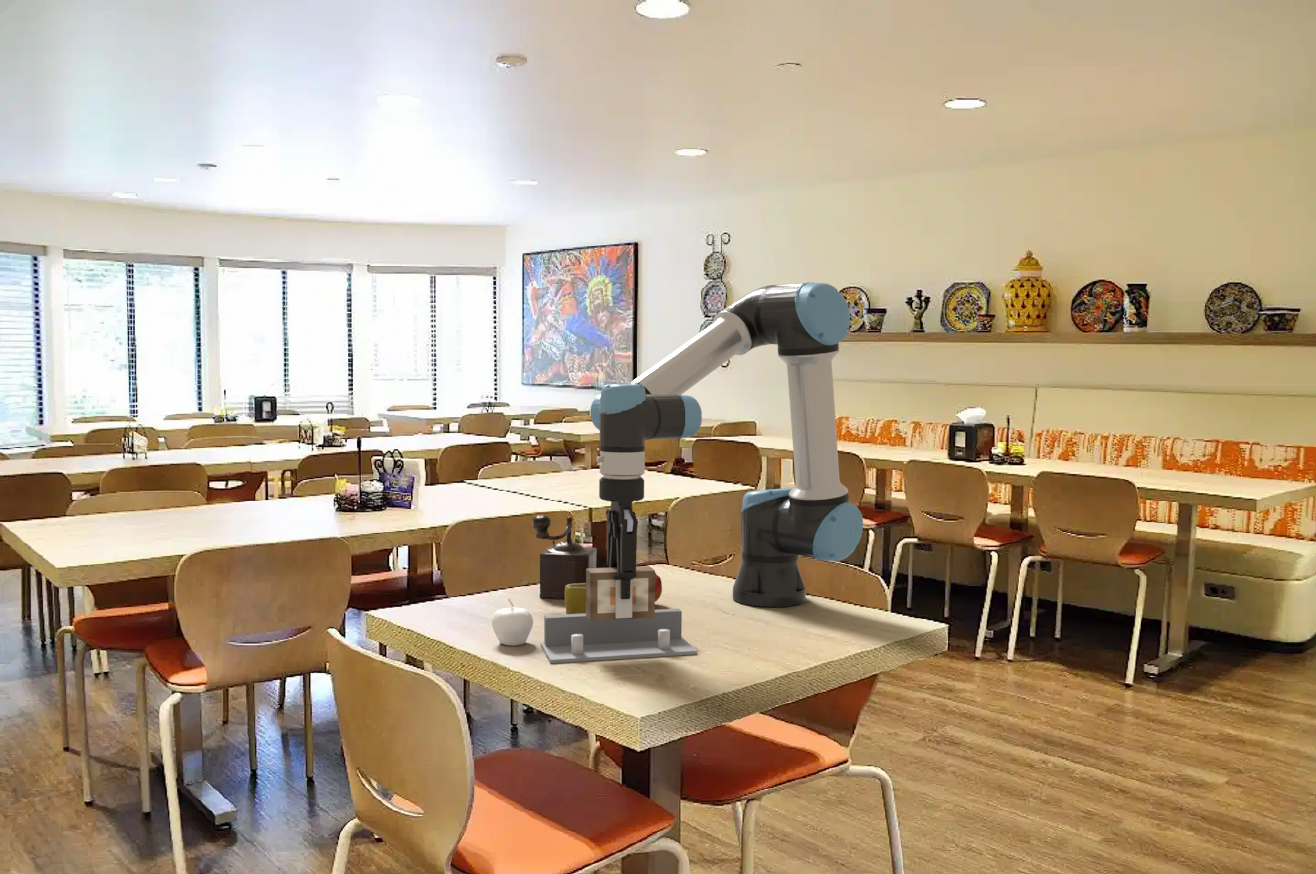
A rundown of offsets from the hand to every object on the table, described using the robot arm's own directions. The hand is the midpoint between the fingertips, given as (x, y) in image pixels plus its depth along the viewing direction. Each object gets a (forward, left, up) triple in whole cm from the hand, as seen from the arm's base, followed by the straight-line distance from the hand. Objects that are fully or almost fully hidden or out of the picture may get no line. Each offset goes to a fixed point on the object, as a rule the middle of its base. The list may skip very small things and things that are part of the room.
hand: (620, 613), depth 185 cm
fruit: (-12, -34, -7) cm, 37 cm away
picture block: (0, 0, 0) cm, 0 cm away
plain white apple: (+17, -11, -7) cm, 21 cm away
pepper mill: (+2, -46, -7) cm, 47 cm away
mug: (+1, -21, -7) cm, 22 cm away
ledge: (0, -3, -7) cm, 7 cm away
